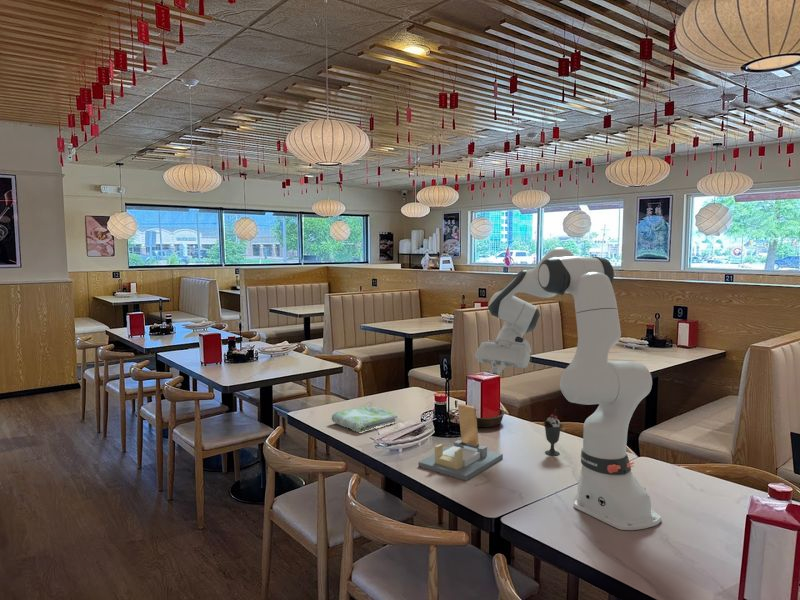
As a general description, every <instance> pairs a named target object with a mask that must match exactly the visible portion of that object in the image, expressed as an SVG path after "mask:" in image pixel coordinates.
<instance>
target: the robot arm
mask: <svg viewBox="0 0 800 600" xmlns="http://www.w3.org/2000/svg"><path fill="white" fill-rule="evenodd" d="M614 277H615V272H614V268H613V265H612V263H611V262H610V260H608V259H606V258H605V257H599V256H578V255H574V253H573V252H572V250H569V249H568V248H566V247H555V248H552V249H551V250H550V251H548V252H547V253H546V254H545V255H544V256H543V257H542V258H541V260H540V261H539V262H538V263H537V265H536V266H535V267H533V268H531V269H523V270H521V271H519V272H518V273H517V274H516V275H514V276H513V277H512V278H510V280H509V281H508V282H506V283H505V285H503V287H501V288H500V289H499V290H497V291H496V292H494V294H493V295H492V296H491V297H490V300H489V301H488V305H487V308H488V310H489V313H490V315H491V316H492V317H495V318H498V319H501V320H503V322H502V323H503V324H502V325H503V326H502V328H501V329H500V330H499V331H498V334H497V336H496V339H495V340H485V341H482V342H481V343H480V345H479V347H478V348H477V350H476V352H475V354H474V357H475V359H476V361H477V362H478V363H484V364H488V365H489V364H490V365H491V369H490V374H492V375H497V376H498V375H500V374H501V372H502V371H503V370H505V369H506V367H513V368H519V369H525V368H527V367H528V365H529V363H530V361H531V353H532V348H531V344H530V343H529V341H528V339H526V338H525V337H524V335H525V334H529V333H530V332H532V331H534V330H535V328H536V326H537V323H538V320H539V318H540V316H541V313H540V310H539V308H538V307H537V306H535V305H534V304H532V303H530V302H528V301H526V300H523V299H521V298H519V297H517V296H515V295H516V294H517V293H521V294H522V293H524V294H528V295H531V296H535V297H538V298H542V299H545V298H546V299H549V298H553V297H555V296H557V295H561V296H564V294H570V295H571V296H572V297H573V299H574V301H573V302H574V309H575V310H574V311H575V320H576V329H577V330H576V331H577V345H576V351H575V353H574V356H573V357H572V360H571V361H570V363H569V365H567V366H566V368H564V370H563V371H562V372H561V375H560V379H559V389H560V391H561V393H562V394H563V397H564V398H565V399H566V400H567V401H568V402H570V403H573V404H577V405H578V404H579V405H585V406H586V405H588V406H589V405H598V406H597V408H596V409H595V411H594V412H593V413H592V414H591V415H589V416H588V417H587V418H586V419H585V421H584V423H583V427H582V428H583V431H582V432H583V434H582V436H583V437H582V439H583V440H582V448H581V452H580V453H581V454H580V463H581V464H582V465H581V470H580V474H579V478H578V484H577V491H576V495H575V500H574V502H573V507H574V508H575V509H577V510H579V511H581V512H582V513H585V514H587V515H589V516H591V517H593V518H594V519H597V520H599V521H601V522H603V523H605V524H607V525H609V526H612V527H614V528H616V529H618V530H621V531H622V530H623V531H635V530H636V531H637V530H638V531H639V530H643V529H649V528H651V527H655V526H658V525H659V524H660V523H661V522H662V516H661V515H660V514H659V513H657V512H656V511H655V510H653V509H652V503H651V502H652V501H651V497H650V495H649V492H648V491H647V489H646V486H644V485H642V484H641V483H640V481H639V480H638V478H637V477H636V476H635V474H634V473H633V472H632V468H633V467H634V464H635V462H634V461H632V462H630V459H629V455H628V454H627V443H628V431H629V424H630V421H631V420H632V419H631V418H632V417H633V414H634V412H635V410H636V408H637V407H638V405H639V404H640V403H641V401H642V400H643V399H644V398H646V397H647V396H649V394H650V392H651V390H652V386H653V378H652V377H653V376H652V374H651V372H650V370H649V369H648V368H647V366H646V365H644V364H643V363H641V362H635V361H629V360H616V361H614V360H613V361H608V360H609V359H608V357H609V352H610V350H611V349H612V347H614V346H615V345H616V344H618V342H619V341H621V337H622V329H621V323H620V317H619V310H618V303H617V298H616V294H615V290H614V287H613V285H612V284H613V282H614ZM497 366H498V367H497Z"/></svg>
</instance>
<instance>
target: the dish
mask: <svg viewBox="0 0 800 600" xmlns="http://www.w3.org/2000/svg"><path fill="white" fill-rule="evenodd" d="M499 409H500V414H499V416H496V417H490V418H477V417H476V419H477V428H491V427H495V426H498V425H500V424H501V423H502V421H503V418H504V415H505V414H506V413H505V410H503V409H502V408H499Z"/></svg>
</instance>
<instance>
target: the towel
mask: <svg viewBox="0 0 800 600" xmlns="http://www.w3.org/2000/svg"><path fill="white" fill-rule="evenodd" d="M396 419H398V415H397V414H396V413H395V412H393V411H391V410H387V409H384V408H380V407H378V406H377V407H376V406H368V405H367V406H363V407H358V408H351V409H344V410H339V411H336V412H335V413H334V414H332V415H331V421H332V422H333V423H335V424H337V425H339V426H341V425H342V426H341V427H343V426H344V427H343V428H345V427H347V428H346V429H348V428H350V429H352V430H351V431H353V430H354V431H353V432H355V431H356V432H355V433H357V432H362V431H365V430H369V429H371V428H374V427H376V426H380V425H385V424H388V423H392V422H395V421H396V422H397V420H396ZM350 429H349V430H350Z"/></svg>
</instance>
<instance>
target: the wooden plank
mask: <svg viewBox="0 0 800 600" xmlns="http://www.w3.org/2000/svg"><path fill="white" fill-rule="evenodd" d="M474 406H475V405H470V404H469V405H467V404H464V403H459V404H458V405H457V407H458V409H457V410H458V418H459V419H458V420H459V427H460V428H459V429H460V440H461V441H462V443H461V444H462V445H464V446H468V447H472V448H476V449H477V448H478V447H480V444H479V443H480V442H479V430H478V427H477V419H476V409H475V407H474Z"/></svg>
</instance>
